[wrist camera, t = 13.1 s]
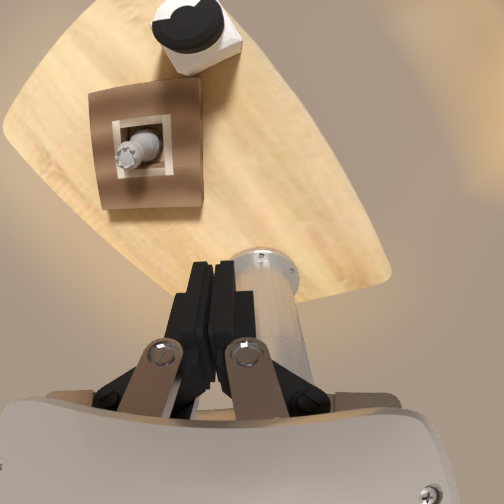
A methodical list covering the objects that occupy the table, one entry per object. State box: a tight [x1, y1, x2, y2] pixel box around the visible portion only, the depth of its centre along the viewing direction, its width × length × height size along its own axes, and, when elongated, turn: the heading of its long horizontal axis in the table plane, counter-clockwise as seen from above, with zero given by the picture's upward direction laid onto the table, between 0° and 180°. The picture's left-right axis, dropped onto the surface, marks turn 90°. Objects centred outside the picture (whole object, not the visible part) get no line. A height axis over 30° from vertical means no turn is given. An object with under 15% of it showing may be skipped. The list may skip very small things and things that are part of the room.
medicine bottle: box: [149, 0, 243, 77], centre depth 20 cm, size 7×7×12 cm
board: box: [88, 77, 204, 210], centre depth 31 cm, size 16×14×3 cm
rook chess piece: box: [114, 128, 162, 170], centre depth 29 cm, size 4×4×8 cm
